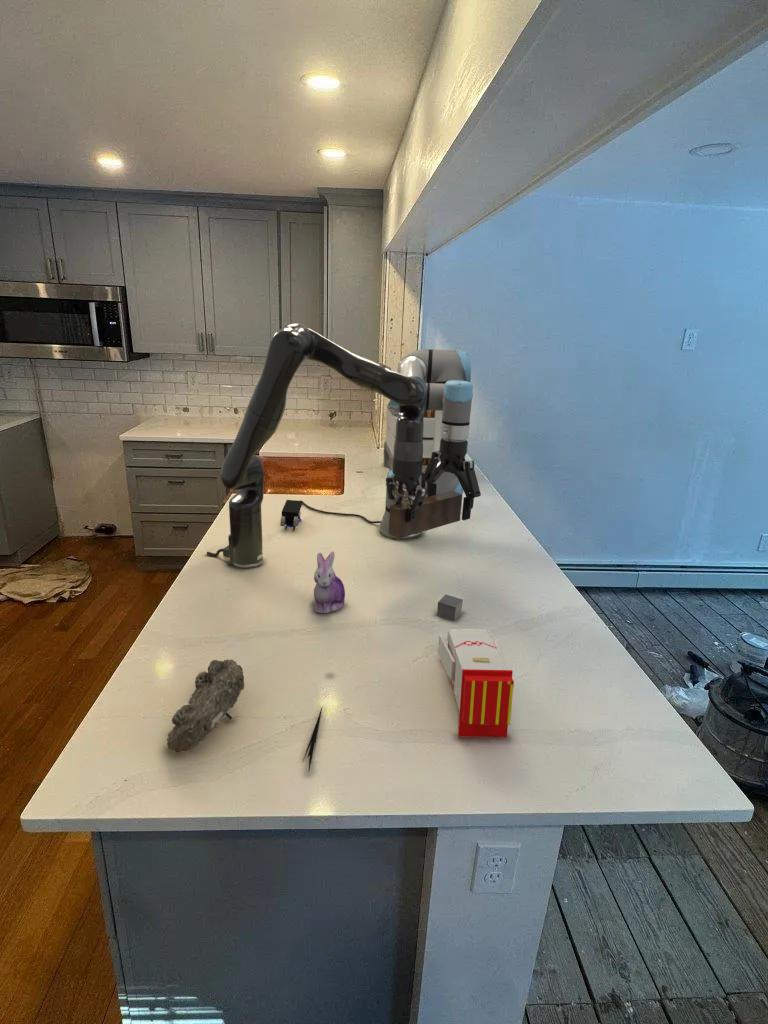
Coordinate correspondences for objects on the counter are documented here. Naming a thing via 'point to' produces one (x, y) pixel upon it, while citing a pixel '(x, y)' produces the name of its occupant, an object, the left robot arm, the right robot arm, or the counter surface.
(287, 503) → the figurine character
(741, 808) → the counter surface
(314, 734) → the feather
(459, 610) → the slate block
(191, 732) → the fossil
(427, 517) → the walnut bar
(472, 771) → the counter surface
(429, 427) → the white slatted crate
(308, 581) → the counter surface
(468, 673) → the toy
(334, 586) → the figurine
